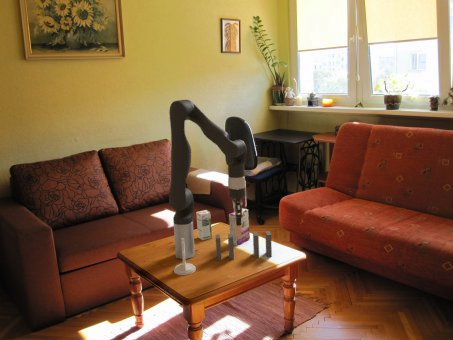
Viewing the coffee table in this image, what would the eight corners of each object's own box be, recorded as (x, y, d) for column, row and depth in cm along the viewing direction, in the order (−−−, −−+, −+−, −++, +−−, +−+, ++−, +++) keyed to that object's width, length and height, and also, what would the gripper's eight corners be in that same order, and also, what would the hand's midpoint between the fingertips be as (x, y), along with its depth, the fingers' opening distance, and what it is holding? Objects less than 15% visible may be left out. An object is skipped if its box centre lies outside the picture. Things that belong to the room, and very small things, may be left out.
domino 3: (237, 238, 209) (236, 215, 206) (236, 234, 214) (235, 211, 211) (241, 238, 209) (240, 214, 207) (240, 234, 214) (239, 211, 211)
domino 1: (217, 260, 223) (215, 238, 221) (216, 256, 228) (215, 234, 226) (221, 260, 224) (220, 238, 221) (220, 255, 228) (219, 234, 226)
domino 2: (229, 259, 224) (228, 237, 221) (228, 255, 229) (227, 233, 226) (233, 259, 224) (233, 237, 221) (233, 255, 229) (232, 233, 226)
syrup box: (202, 240, 249) (200, 214, 246) (197, 237, 254) (196, 211, 251) (212, 238, 252) (210, 212, 248) (207, 235, 257) (205, 209, 253)
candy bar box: (242, 237, 251) (241, 207, 247) (250, 239, 248) (249, 209, 244) (229, 244, 242) (228, 213, 239) (237, 246, 239) (236, 215, 236)
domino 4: (254, 257, 224) (254, 235, 222) (253, 253, 229) (252, 232, 227) (259, 257, 225) (258, 235, 222) (257, 253, 229) (257, 231, 227)
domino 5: (267, 256, 225) (266, 235, 222) (265, 252, 230) (265, 231, 227) (271, 256, 225) (271, 234, 222) (270, 252, 230) (269, 231, 227)
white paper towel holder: (173, 276, 209) (171, 244, 206) (174, 266, 219) (172, 236, 215) (195, 274, 210) (193, 242, 206) (195, 265, 219) (193, 234, 216)
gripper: (227, 182, 213) (228, 218, 217) (229, 191, 199) (231, 229, 203) (243, 181, 213) (244, 217, 217) (247, 189, 199) (248, 228, 203)
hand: (238, 222), depth 210 cm, fingers closed on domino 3, 5 cm apart
